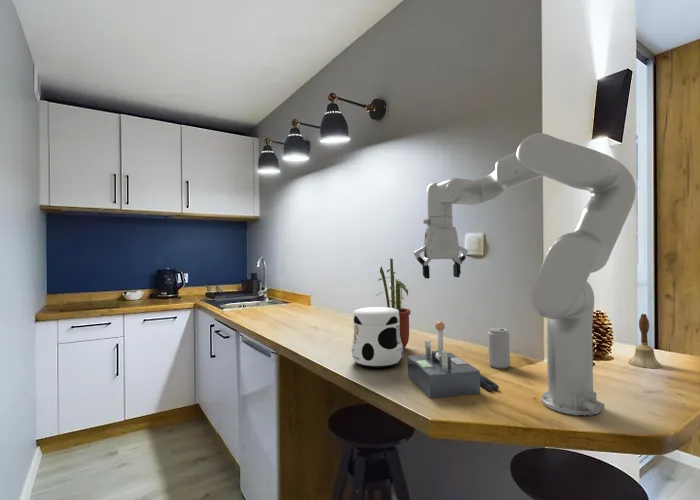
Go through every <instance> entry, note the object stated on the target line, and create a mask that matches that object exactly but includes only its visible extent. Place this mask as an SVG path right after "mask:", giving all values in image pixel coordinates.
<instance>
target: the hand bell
mask: <svg viewBox="0 0 700 500" xmlns="http://www.w3.org/2000/svg"><path fill="white" fill-rule="evenodd" d="M638 328H639V331H640V334H641V335H640V345H637V346H635V352H634V354H633V356H632V357H631V358H630V359H628V364H630V365H631V366H635V367H639V368H643V369H649V370H650V369H652V370H653V369H660V368H662V364H661V363H660V362H659V361H658V360H657V358H656V354H655V351H654V348H653V347H651V346H650V345H649V340H648V339H649V338H648V332H649V330H650V322H649V318H648V316H647V314H646V313H641V314H640V317H639V320H638Z"/></svg>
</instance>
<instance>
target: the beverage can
mask: <svg viewBox="0 0 700 500" xmlns="http://www.w3.org/2000/svg"><path fill="white" fill-rule="evenodd" d="M487 343H488V345H487V346H488V347H487V350H488V354H487V355H488V364H489V365H490V366H491V368H495V369H500V370H501V369H503V370H504V369H507V368H509V367H510V365H511V355H510V353H511V352H510V333H509V330H508V329H507V328H504V327H490V328H489V329H488V332H487Z"/></svg>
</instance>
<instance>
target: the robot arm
mask: <svg viewBox="0 0 700 500" xmlns="http://www.w3.org/2000/svg"><path fill="white" fill-rule="evenodd" d="M494 167H495V168H494V169H495V170H493V172H491V173H489V174H487V175H485V176H483V177H478V178H476V179H474V180H472V179H467V178H466V179H465V178H459V177H454V178H449V179H447V180H445V181H442V182H433V183H430V184H428V186H427V188H426V199H427V200H426V201H427V202H426V204H427V218H426V219H424V220H423V224H424V225H427V227H425V232H424V239H423V240H424V241H423V246H421V247H420V248H418V249H417V250H415V251H414V252H413V255H414V257H415V258H416V261H417V262H419V264H420V265H421V266H422V276H423V277H424V279H426V280H429V279H430V266H429V263H430V262H431V261H432V260H450V259H451V261H453V267H452V271H453V274H452V275H453V277H454V278H460V276H461V265H462V263H463V262H464V261H465V260H466V258H467V257H466V256H468V253H469V250H468V249H466V248H464V247H462V246H461V245H460V243H459V238H458V237H459V236H458V231H457V228H456V226H454V223H453V222H454V220H453V204H454V205H465V206H475V205H479V204H483V203H485V202H488V201H491V200H494V199H496V198H498V197H500V196H502V195H503V194H505V193H507V192H508V191H509V190H510V189H513V188H515V187H518V186H522V185H523V184H526V183H528V182H532V181H534V180H537V179H541V178H543V177H546V178H548V179H550V180H553V181H556V182H558V183H561V184H563V185H565V186H568V187H571V188H574V189H578V190H582V191H588V192H589V193H590V198H589V200H588V201H587V203H586V205H585V206H584V209H583V210H582V212H581V214H580V217H579V220H578V221H577V224H576V226H575V228H574V230H573V231H572V232H568V233H564V234H563V235H561V236H559V237H557V238H556V239H555V240H554V242H552V244H551V245H550V247H549V248H548V250H547V253H546V255H545V257H544V259H543V262H542V264H541V266H540V269H539V271H538V273H537V276H536V278H535V280H534V283H533V285H532V289H531V293H530V301H531V302H530V303H531V304H532V307H533V309H534V310H535V312H537V313H538V314H539V315H540V316H542V317H543V318H546V319H547V322H546V324H547V325H546V327H547V328H546V355H547V356H546V358H547V359H546V360H547V391H546V392H544V393H542V394H541V396H540V397H541V403H542V404H543V405H544V406H545V407H547V408H548V409H551V410H553V411H555V412H558V413H562V414H566V415H571V414H572V415H571V416H579V415H584V417H585V415H589V416H594V414H595V415H598V414H599V412H600V413H601V412H602V410H603V409H605V407H606V406H605V403H603V402H601V401H599V400H598V398H597V392H595V391H594V366H593V365H594V362H593V357H594V356H593V322H594V321H593V320H594V319H593V318H594V309H595V293H594V290H593V287H592V285H591V284H590V283H589V282H588V280H589V279H588V278H589V277H590V276H591V275H590V274H591V273H595V272H598V271H600V270H602V269H603V268H604V267H605V266H606V265H607V263H608V261H609V259H610V256H611V254H612V252H613V249H614V248H615V245H616V243H617V241H618V239H619V236H620V235H621V233H622V230H623V227H624V225H625V223H626V221H627V219H628V216H629V214H630V212H631V210H632V207H633V205H634V203H635V198H636V194H637V193H636V190H637V189H636V182H635V179H634V177H633V174H632V173H631V171H630V170H629V169H628V168H627V167H626V166H625V165H624V164H623V163H621V162H620V161H619V160H617V159H616V158H614V157H613V156H610V155H608V154H606V153H603V152H600V151H598V150H595V149H592V148H590V147H586V146H582V145H579V144H576V143H573V142H571V141H567V140H563V139H560V138H557V137H555V136H552V135H549V134H547V133H545V132H544V133H541V132H538V133H534V134H530V135H529V136H526V138H524V139H523V140H522V141H521V142H520V143H519V145H518V147H517V149H516V151H515V152H513V153H510V154H508V155H506V156H503V157H501V158H499V159H498V160H497V161H496V162H495V166H494ZM460 252H461V254H460ZM422 253H423V256H424V258H422V256H421V254H422Z"/></svg>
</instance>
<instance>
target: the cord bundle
mask: <svg viewBox="0 0 700 500" xmlns="http://www.w3.org/2000/svg"><path fill="white" fill-rule="evenodd" d="M480 387H482V388H484V389H485V390H486V391H488V392H491V391H493V390H494V391H498V390H499V385H498V384H497V383H495V382H494V381H492V380H491V379H489V378H488V377H485V376H484V375H483V374H481V373H480Z"/></svg>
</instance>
